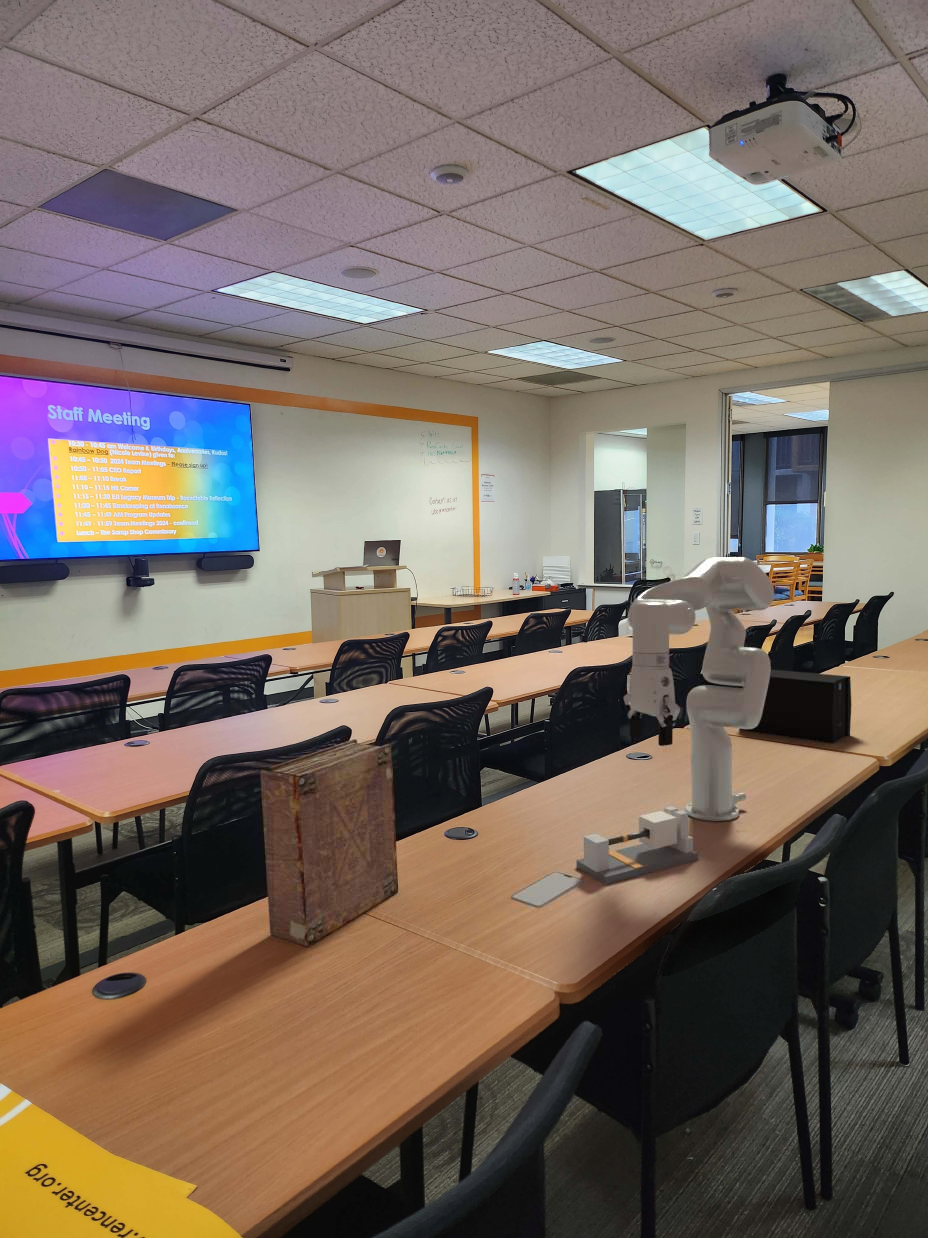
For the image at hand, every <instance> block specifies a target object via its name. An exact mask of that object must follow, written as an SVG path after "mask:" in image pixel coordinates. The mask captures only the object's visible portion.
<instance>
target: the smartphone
mask: <svg viewBox="0 0 928 1238" xmlns="http://www.w3.org/2000/svg"><path fill="white" fill-rule="evenodd" d="M583 883H584V881H583V879H581V878H579V877H576V876H572V875H568V874H565V873H561V872H559V871H554V872H551V873H549V874H547V875H546V876H544V877H541V879H538V880H536V881H535V882H533V883H532V884H530V885H528V886H526V887H524V888H522V889H521V890H519V891H517V892H515V893H514V894H512V895H511V896H510V898H511V900H514V901H516V902H519V903H522V904H523V903H524V904H526V905H529V906H532V907H534V908H543V907H544V906H546V905H547V904H549V903H551V902H553V901H555V900H556V899H558V898H560V897H561V896H563V895H565V894H566V893H568V892H570V891H572V890H573V889H575V888H576V887H578V886H580V885H581V884H583Z"/></svg>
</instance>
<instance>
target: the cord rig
mask: <svg viewBox="0 0 928 1238" xmlns="http://www.w3.org/2000/svg"><path fill="white" fill-rule="evenodd" d="M663 810H664V811H663V812H665V813H667V814H669V815H672V816H674V817H677V843H676V844H673V845H669V846H665V847H661V848H657V849H654V848H652V847H650V846H648V845H645V844H643V843H641V844H636V845H633V846H628V847H625V848H621V849H620V848H619V849H615V850H610V846H614V845H617V844H620V843H622V844H623V843H627V842H629V841H632V840H637V839H638V840H639V838H642V837H646V836H650V830H645V831H641V832H639V831H637V832H633V833H629V834H623V835H620V836H617V837H613V838H608V839H607V838H605V837H603V836H602V835H600V834H597V833H593V834H588V835H584V836H583V858H581V859H576V868H577V869H579V870H580V871H582V872H583V873H585V874H587V875H589V876H591V877H592V878H594V879H595V880H598V882H601V883H603V884H604V885H607V884H612V883H615V882H619V881H623V880H627V879H631V878H634V877H637V876H642V875H646V874H648V873H653V872H656V871H660V870H664V869H668V868H671V867H676V866H679V865H683V864H687V863H689V862H695V861H698V860H699V852H697V851H695V849H694V837H692V836H690V835H689V815H688V813H687V812H686V811H684V810H682V809H680V810H678V808H677V807H674V806H672V805H670V806H666V807H664V808H663Z"/></svg>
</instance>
